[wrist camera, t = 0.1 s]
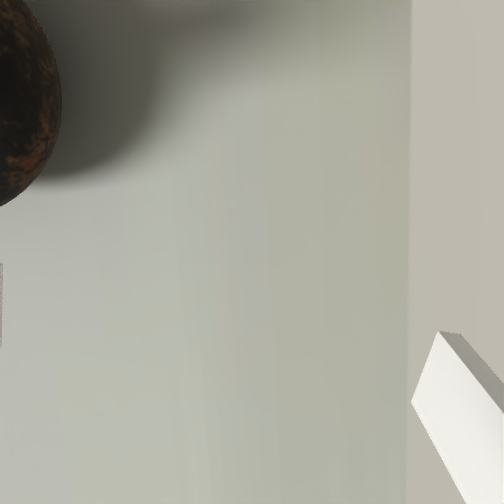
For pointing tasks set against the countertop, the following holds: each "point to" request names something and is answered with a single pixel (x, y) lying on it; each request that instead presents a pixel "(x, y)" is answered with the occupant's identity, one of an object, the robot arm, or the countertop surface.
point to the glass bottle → (25, 99)
